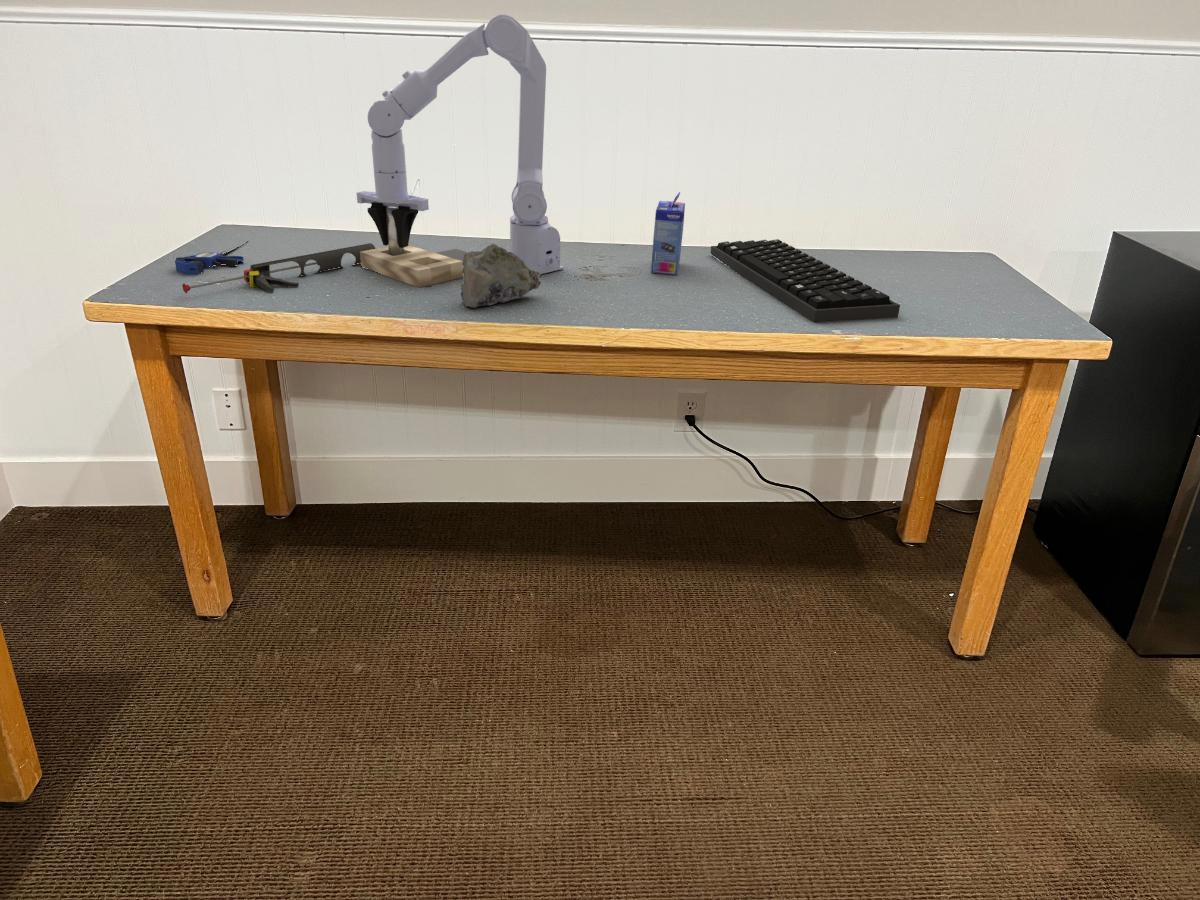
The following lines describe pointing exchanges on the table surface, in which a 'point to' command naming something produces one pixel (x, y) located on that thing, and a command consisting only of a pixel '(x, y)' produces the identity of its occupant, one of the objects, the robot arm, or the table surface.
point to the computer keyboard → (804, 282)
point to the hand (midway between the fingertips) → (395, 245)
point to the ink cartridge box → (667, 237)
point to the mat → (453, 254)
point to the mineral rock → (495, 277)
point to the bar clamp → (204, 262)
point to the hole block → (413, 265)
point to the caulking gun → (261, 271)
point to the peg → (392, 234)
